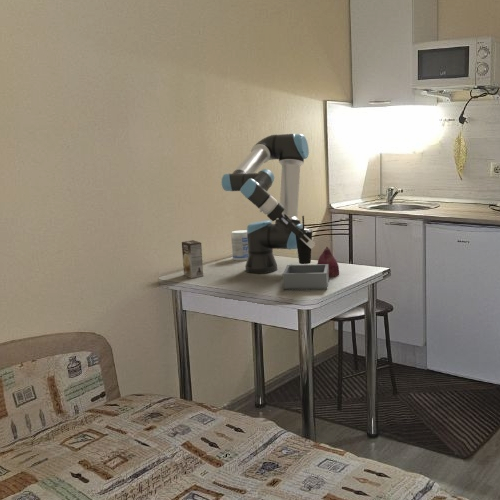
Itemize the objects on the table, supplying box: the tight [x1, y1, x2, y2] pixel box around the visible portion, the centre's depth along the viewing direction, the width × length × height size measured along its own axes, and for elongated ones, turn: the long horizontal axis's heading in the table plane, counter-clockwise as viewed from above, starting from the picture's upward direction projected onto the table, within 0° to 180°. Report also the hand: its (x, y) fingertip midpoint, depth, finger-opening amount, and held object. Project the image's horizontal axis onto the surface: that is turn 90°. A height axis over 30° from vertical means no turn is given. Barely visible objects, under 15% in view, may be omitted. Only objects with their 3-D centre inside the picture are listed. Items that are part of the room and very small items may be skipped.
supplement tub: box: [231, 229, 248, 262], centre depth 359 cm, size 10×10×15 cm
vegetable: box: [316, 246, 340, 278], centre depth 311 cm, size 10×10×15 cm
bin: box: [282, 263, 330, 291], centre depth 296 cm, size 18×18×7 cm
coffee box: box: [181, 239, 204, 279], centre depth 326 cm, size 9×6×16 cm
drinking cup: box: [296, 215, 314, 265], centre depth 292 cm, size 8×8×20 cm
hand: (312, 245), depth 292 cm, fingers closed on drinking cup, 7 cm apart
